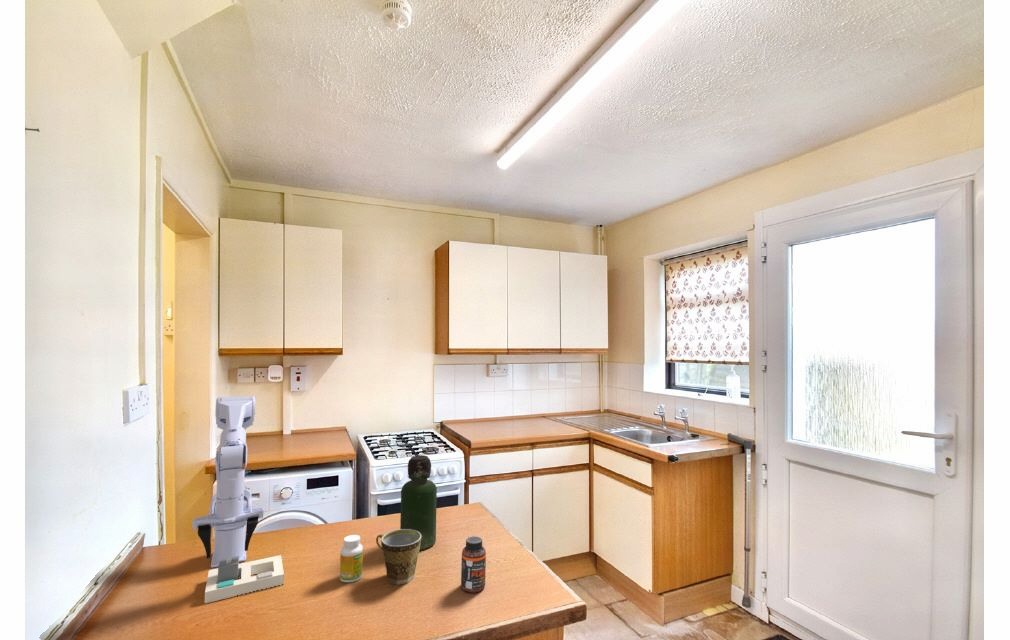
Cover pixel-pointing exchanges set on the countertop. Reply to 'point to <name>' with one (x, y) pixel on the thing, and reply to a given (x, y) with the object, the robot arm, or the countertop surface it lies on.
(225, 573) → the plug
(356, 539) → the supplement bottle
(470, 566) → the supplement bottle
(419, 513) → the green bottle
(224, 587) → the socket board
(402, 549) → the ceramic cup
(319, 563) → the countertop surface
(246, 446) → the robot arm
